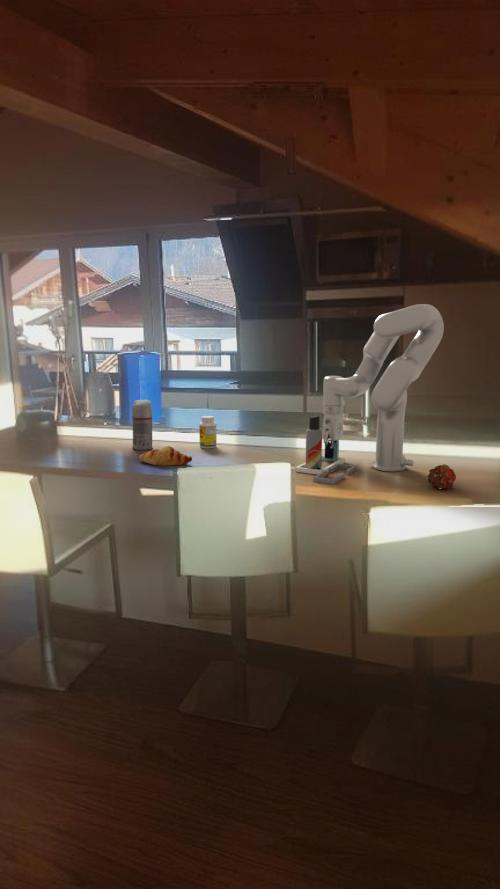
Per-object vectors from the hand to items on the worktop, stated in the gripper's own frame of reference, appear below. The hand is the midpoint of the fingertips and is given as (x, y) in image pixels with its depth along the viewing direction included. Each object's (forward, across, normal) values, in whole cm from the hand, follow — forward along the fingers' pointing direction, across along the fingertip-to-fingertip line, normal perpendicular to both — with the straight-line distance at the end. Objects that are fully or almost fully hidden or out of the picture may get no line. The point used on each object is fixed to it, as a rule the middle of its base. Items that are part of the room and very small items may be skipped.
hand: (331, 456), depth 255 cm
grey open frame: (+2, -20, -9) cm, 22 cm away
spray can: (+2, -16, +76) cm, 78 cm away
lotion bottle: (+2, -18, 0) cm, 18 cm away
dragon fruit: (+2, -18, -45) cm, 48 cm away
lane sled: (+2, -10, 0) cm, 11 cm away
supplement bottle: (+2, -2, +54) cm, 54 cm away
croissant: (+2, -33, +53) cm, 63 cm away
